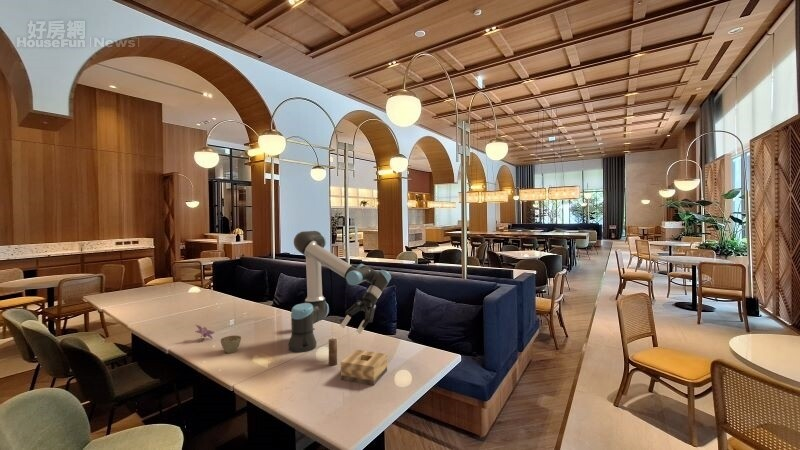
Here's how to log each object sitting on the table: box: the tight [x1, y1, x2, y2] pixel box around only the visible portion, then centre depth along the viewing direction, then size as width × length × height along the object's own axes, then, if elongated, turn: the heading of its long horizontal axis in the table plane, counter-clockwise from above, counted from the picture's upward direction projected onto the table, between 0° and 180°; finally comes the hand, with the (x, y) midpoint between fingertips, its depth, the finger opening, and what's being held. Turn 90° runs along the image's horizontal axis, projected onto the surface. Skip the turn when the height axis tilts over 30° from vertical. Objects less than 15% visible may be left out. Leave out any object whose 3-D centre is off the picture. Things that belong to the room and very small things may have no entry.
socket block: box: [340, 349, 388, 386], centre depth 155 cm, size 16×15×8 cm
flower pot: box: [220, 334, 242, 354], centre depth 184 cm, size 10×10×7 cm
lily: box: [195, 324, 216, 343], centre depth 201 cm, size 12×12×10 cm
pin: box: [328, 338, 338, 367], centre depth 167 cm, size 4×4×12 cm
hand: (349, 329), depth 174 cm, fingers open, 13 cm apart
